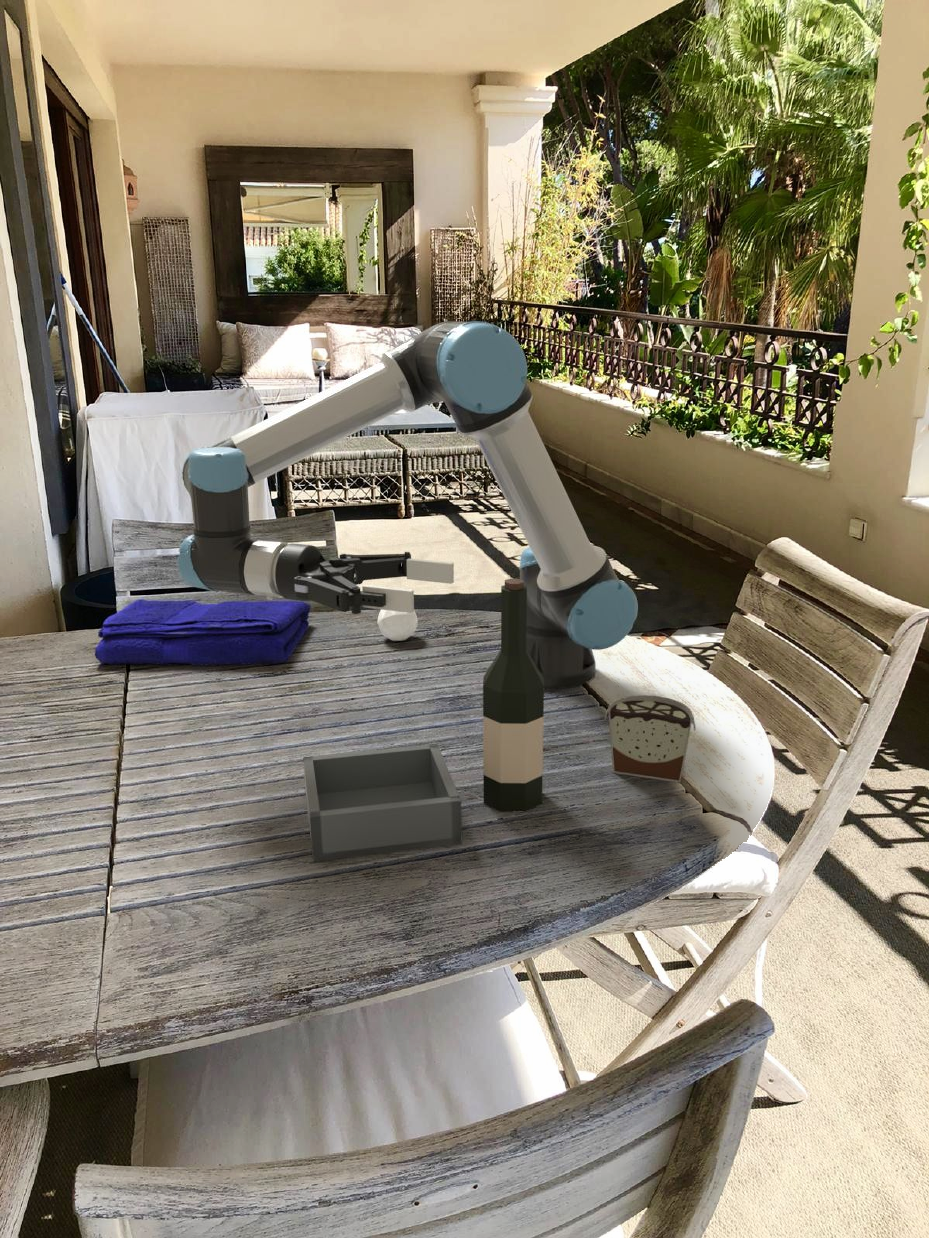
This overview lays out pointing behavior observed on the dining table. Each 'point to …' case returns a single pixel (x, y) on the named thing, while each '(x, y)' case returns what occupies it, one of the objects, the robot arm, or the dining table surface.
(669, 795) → the dining table surface
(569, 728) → the dining table surface
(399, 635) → the ball
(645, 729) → the food container
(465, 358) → the robot arm
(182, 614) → the towel
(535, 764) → the wine bottle
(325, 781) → the tote
